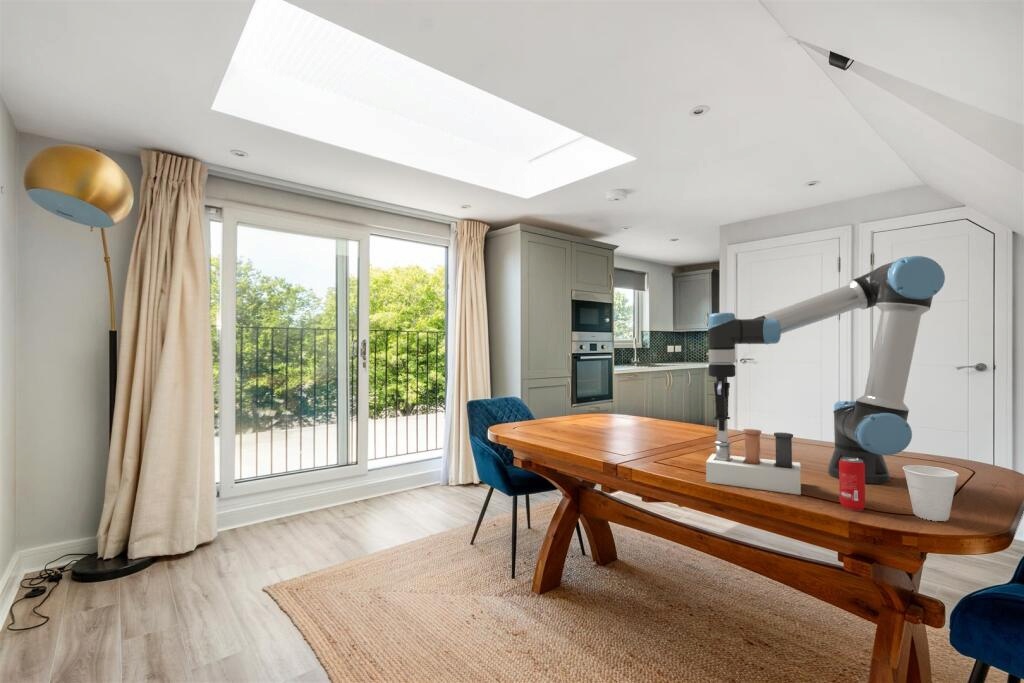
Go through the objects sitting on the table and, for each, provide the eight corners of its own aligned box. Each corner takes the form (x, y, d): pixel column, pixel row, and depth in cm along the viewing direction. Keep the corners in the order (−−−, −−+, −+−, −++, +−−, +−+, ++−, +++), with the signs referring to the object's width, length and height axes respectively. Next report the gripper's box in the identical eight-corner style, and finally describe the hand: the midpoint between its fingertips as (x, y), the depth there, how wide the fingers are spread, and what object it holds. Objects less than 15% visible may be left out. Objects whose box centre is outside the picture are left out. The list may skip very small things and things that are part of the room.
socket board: (800, 483, 137) (800, 462, 137) (800, 494, 127) (800, 472, 127) (712, 472, 150) (712, 453, 150) (706, 482, 139) (705, 461, 139)
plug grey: (733, 472, 143) (732, 441, 143) (731, 476, 139) (730, 444, 139) (716, 470, 146) (715, 439, 146) (713, 474, 142) (713, 442, 142)
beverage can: (834, 504, 119) (833, 457, 119) (853, 503, 120) (852, 456, 120) (851, 511, 114) (850, 462, 114) (870, 510, 114) (870, 461, 114)
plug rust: (762, 462, 139) (761, 429, 139) (761, 465, 135) (760, 432, 135) (744, 460, 141) (743, 428, 141) (742, 463, 137) (742, 431, 137)
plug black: (793, 466, 135) (793, 433, 135) (793, 470, 131) (793, 436, 131) (774, 464, 137) (774, 431, 137) (773, 468, 133) (773, 434, 133)
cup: (914, 522, 107) (913, 474, 107) (896, 507, 116) (895, 463, 116) (969, 527, 103) (968, 478, 103) (946, 512, 113) (945, 466, 113)
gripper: (711, 362, 150) (712, 436, 150) (704, 364, 139) (705, 443, 139) (737, 362, 146) (738, 438, 146) (732, 364, 135) (733, 446, 135)
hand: (722, 440), depth 142 cm, fingers closed
